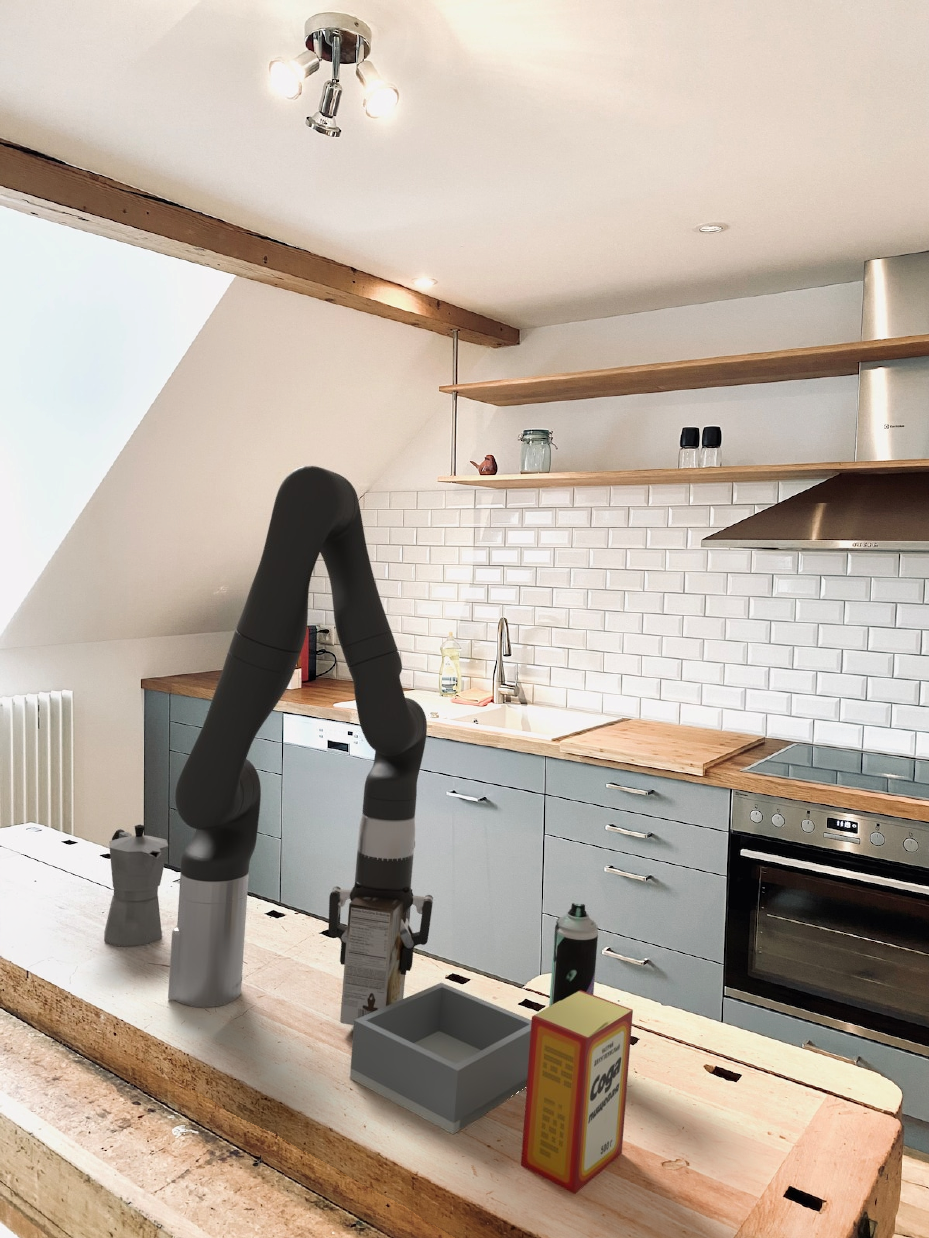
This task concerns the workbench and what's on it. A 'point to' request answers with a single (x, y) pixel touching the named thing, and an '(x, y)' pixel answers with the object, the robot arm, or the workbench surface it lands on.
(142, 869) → the coffeepot
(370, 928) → the coffee box
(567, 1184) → the baking soda box
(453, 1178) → the workbench surface
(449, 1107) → the tote
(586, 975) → the spray can
